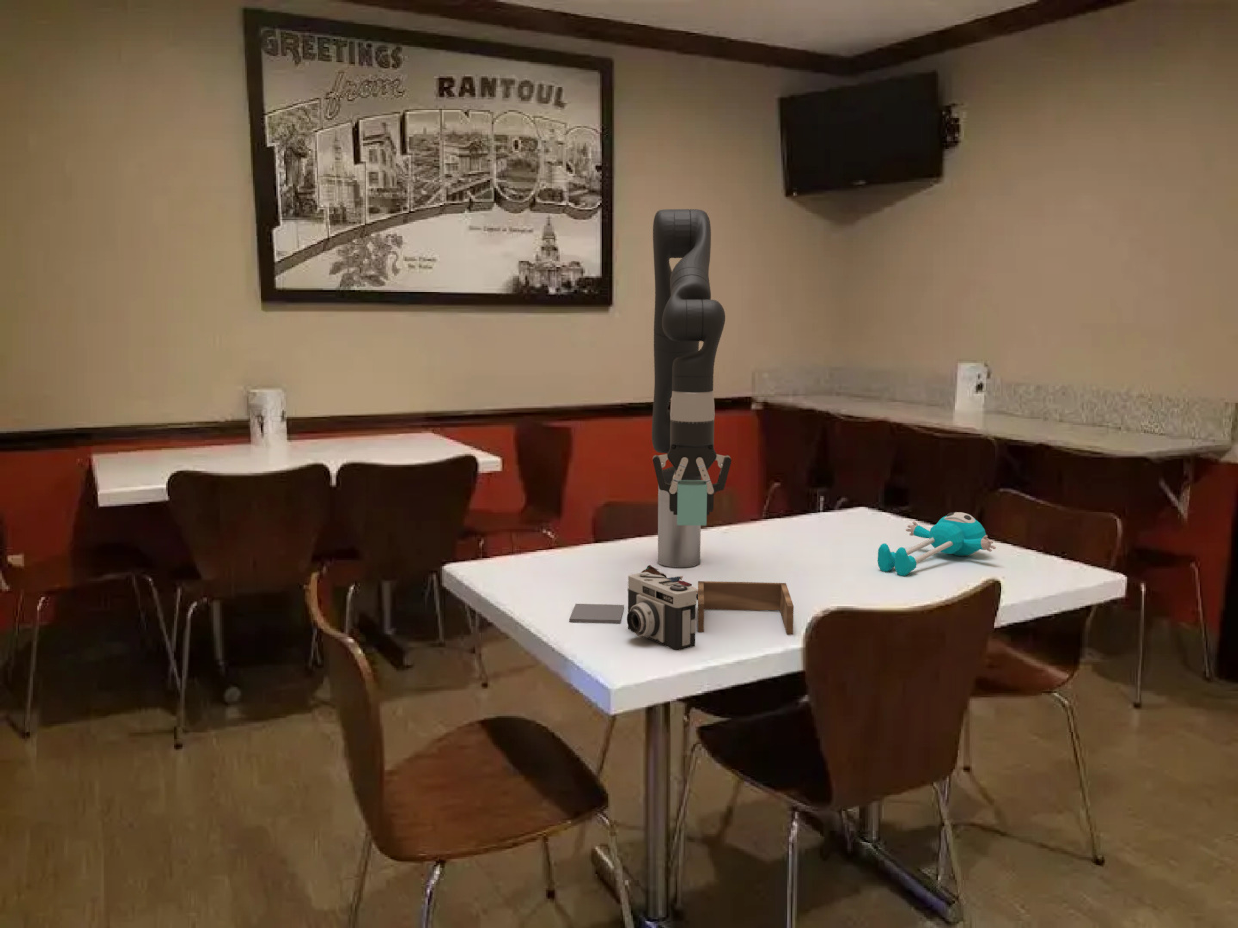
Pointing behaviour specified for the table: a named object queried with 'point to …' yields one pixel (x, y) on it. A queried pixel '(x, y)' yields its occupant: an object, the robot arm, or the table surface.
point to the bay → (745, 599)
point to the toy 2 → (937, 542)
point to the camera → (662, 610)
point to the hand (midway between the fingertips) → (691, 513)
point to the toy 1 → (673, 579)
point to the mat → (597, 613)
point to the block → (692, 502)
